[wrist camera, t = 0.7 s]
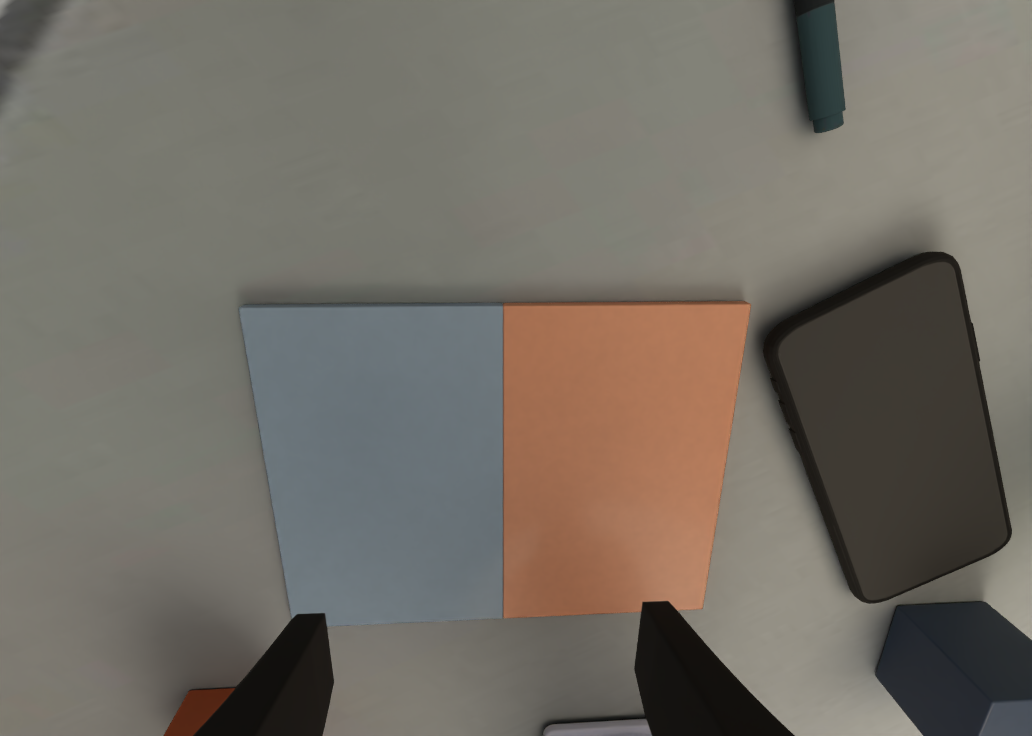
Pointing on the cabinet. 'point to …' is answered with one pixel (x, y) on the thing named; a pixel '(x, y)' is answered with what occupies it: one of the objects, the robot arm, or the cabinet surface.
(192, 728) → the terracotta block
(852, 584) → the smartphone
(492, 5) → the cabinet surface
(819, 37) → the pen
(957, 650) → the slate block
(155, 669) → the cabinet surface
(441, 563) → the sorting board
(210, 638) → the cabinet surface
